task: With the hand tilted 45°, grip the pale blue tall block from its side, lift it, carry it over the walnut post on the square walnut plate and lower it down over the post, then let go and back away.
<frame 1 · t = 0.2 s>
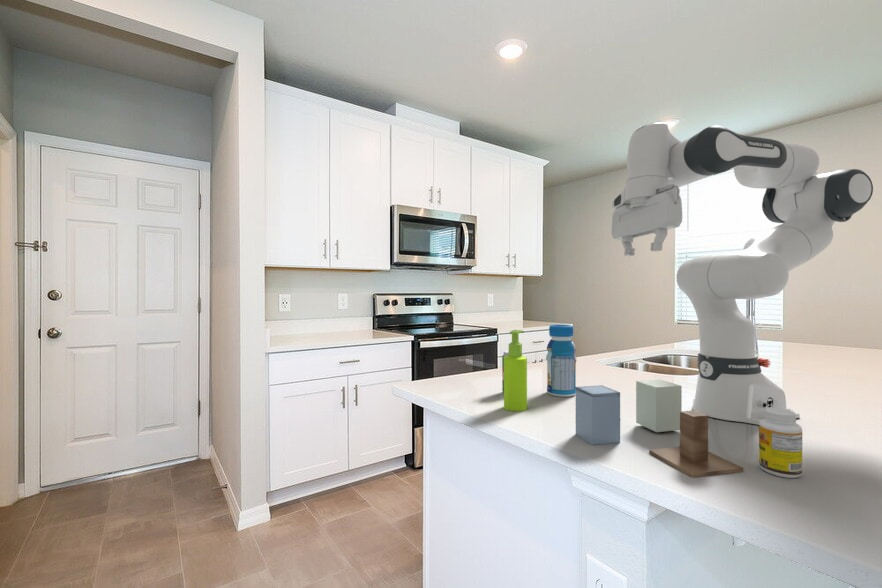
hand: (642, 253, 94), 39 cm above the counter, tool pointing down, fingers open, 8 cm apart
post: (693, 461, 72), on the counter
beverage bottle: (561, 394, 119), on the counter
pale green block: (658, 428, 89), on the counter
soap dispenser: (516, 408, 106), on the counter
supplement bottle: (779, 473, 68), on the counter
soda can: (511, 393, 121), on the counter
pale blue tall block: (597, 438, 84), on the counter
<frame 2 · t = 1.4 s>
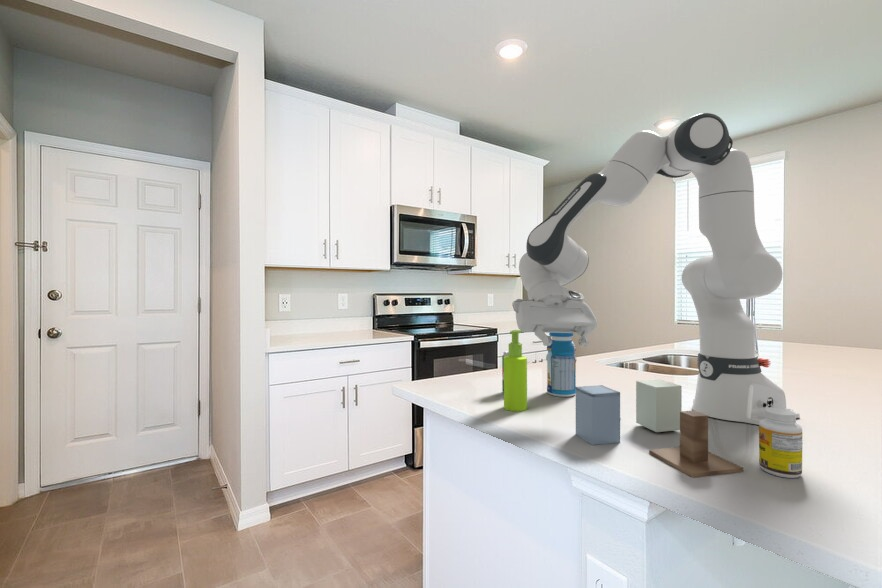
hand: (566, 344, 95), 18 cm above the counter, tool tilted 45°, fingers open, 8 cm apart
nothing on the counter moved.
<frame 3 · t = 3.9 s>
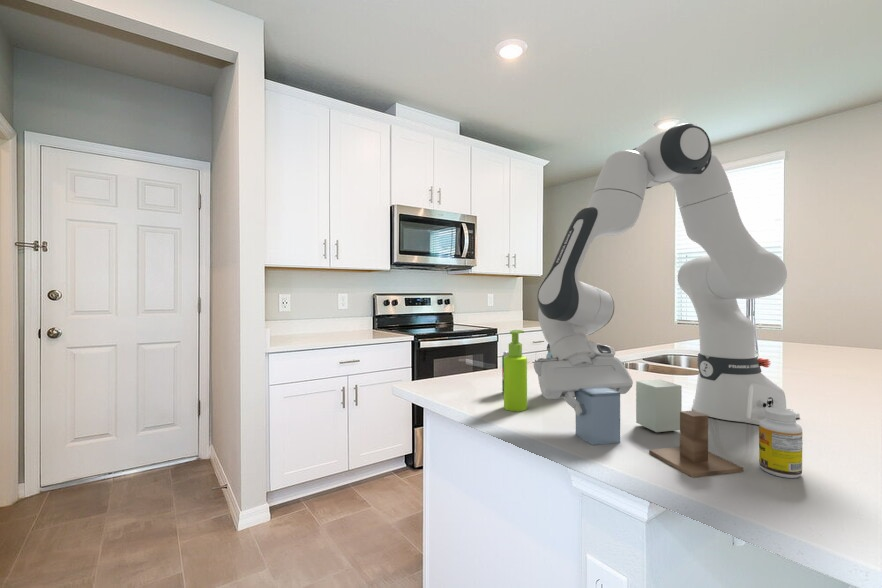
hand: (599, 412, 83), 5 cm above the counter, tool tilted 45°, fingers closed on pale blue tall block, 6 cm apart
pale blue tall block: (597, 438, 84), on the counter, touching gripper
everything else where it was.
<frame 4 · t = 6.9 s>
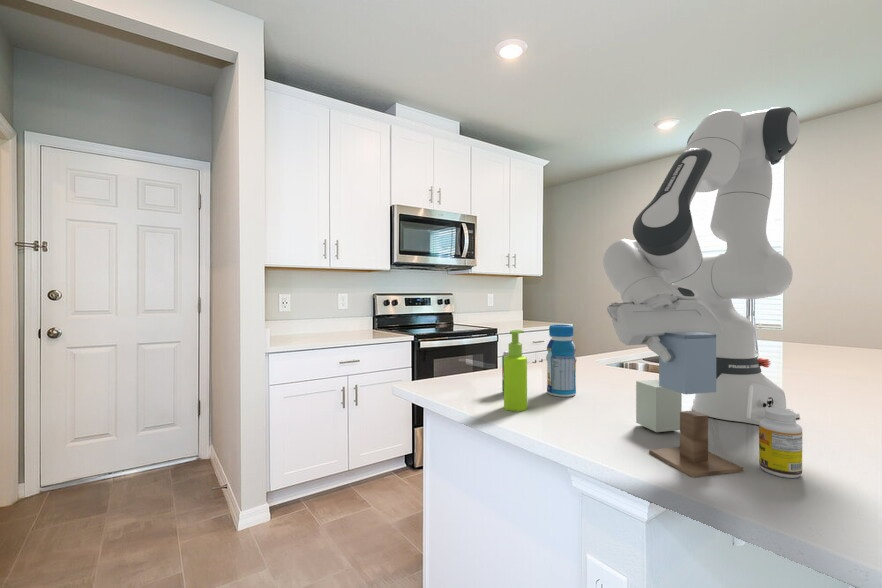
hand: (689, 359, 72), 18 cm above the counter, tool tilted 45°, fingers closed on pale blue tall block, 6 cm apart
pale blue tall block: (686, 388, 73), point 13 cm above the counter, touching gripper
everything else where it was.
when the fingers open (6 cm above the counter, at t = 9.9 s): pale blue tall block stays where it is, resting on post.
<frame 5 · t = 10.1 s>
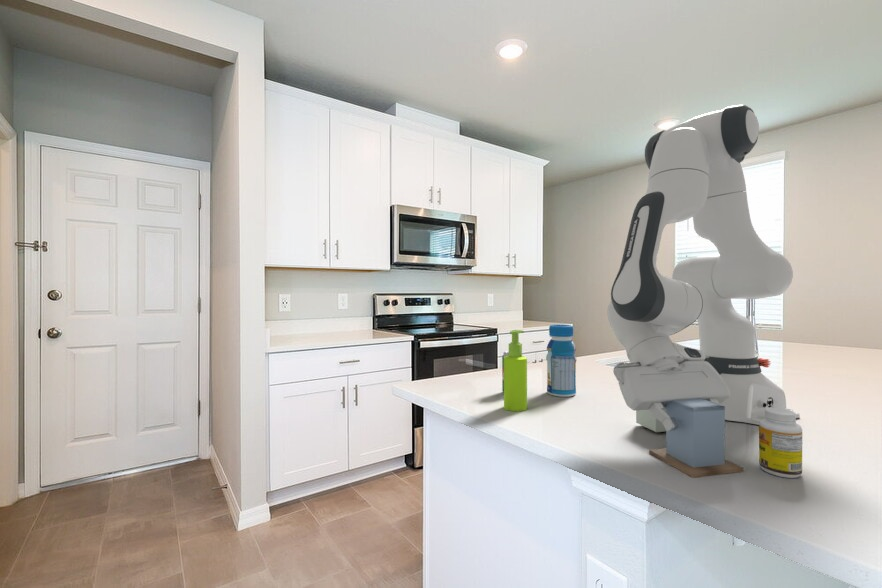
hand: (696, 427, 72), 6 cm above the counter, tool tilted 45°, fingers open, 8 cm apart
pale blue tall block: (694, 458, 72), point 1 cm above the counter, touching post
everything else where it was.
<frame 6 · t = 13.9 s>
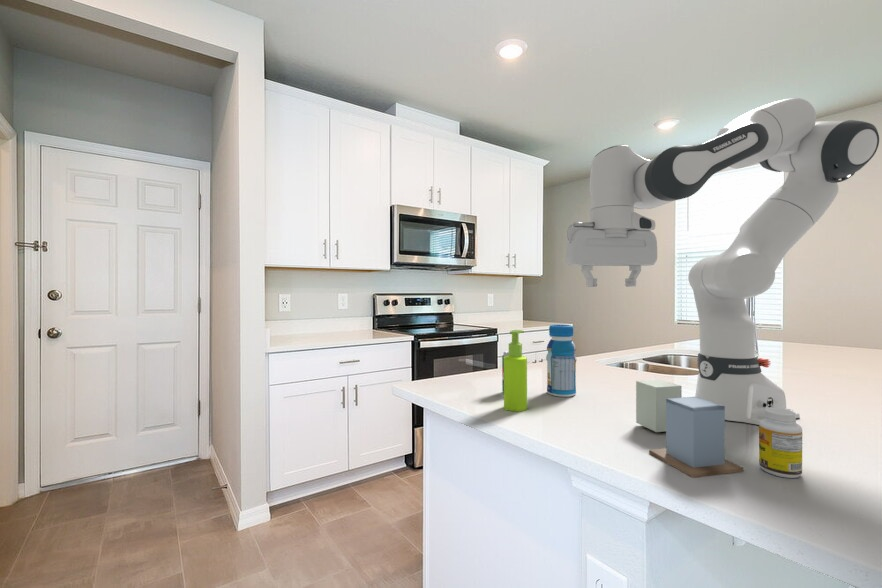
hand: (611, 286, 89), 31 cm above the counter, tool pointing down, fingers open, 8 cm apart
nothing on the counter moved.
at the end: pale blue tall block 0.1 cm from the post (horizontally); pale blue tall block point 0.6 cm above the counter; the gripper is holding nothing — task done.
